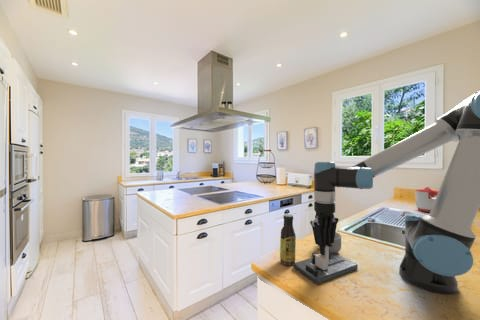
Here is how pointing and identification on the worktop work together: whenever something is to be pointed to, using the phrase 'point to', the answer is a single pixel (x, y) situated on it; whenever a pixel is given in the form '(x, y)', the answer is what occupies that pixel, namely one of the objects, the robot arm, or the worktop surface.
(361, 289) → the worktop surface
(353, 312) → the worktop surface
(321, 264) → the fader
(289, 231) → the sauce bottle
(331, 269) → the board
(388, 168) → the robot arm
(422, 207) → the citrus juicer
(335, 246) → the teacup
